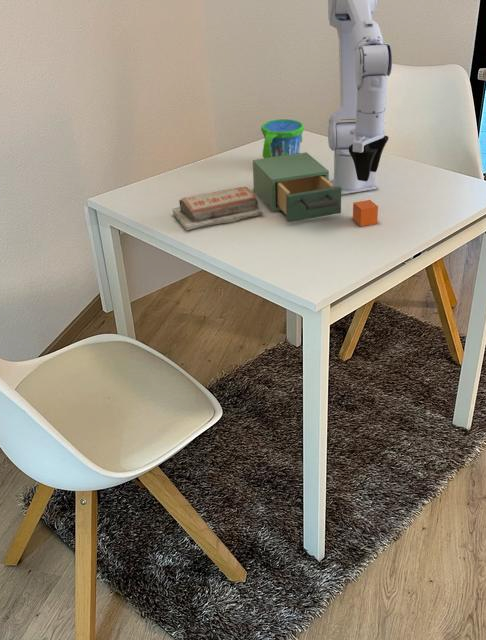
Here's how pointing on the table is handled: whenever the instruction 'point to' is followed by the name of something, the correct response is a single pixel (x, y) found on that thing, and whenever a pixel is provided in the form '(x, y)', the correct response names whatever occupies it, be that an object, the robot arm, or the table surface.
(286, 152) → the snack cup
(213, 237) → the table surface
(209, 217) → the packaged product
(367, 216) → the cube
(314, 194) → the drawer
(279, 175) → the small green cabinet
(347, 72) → the robot arm
